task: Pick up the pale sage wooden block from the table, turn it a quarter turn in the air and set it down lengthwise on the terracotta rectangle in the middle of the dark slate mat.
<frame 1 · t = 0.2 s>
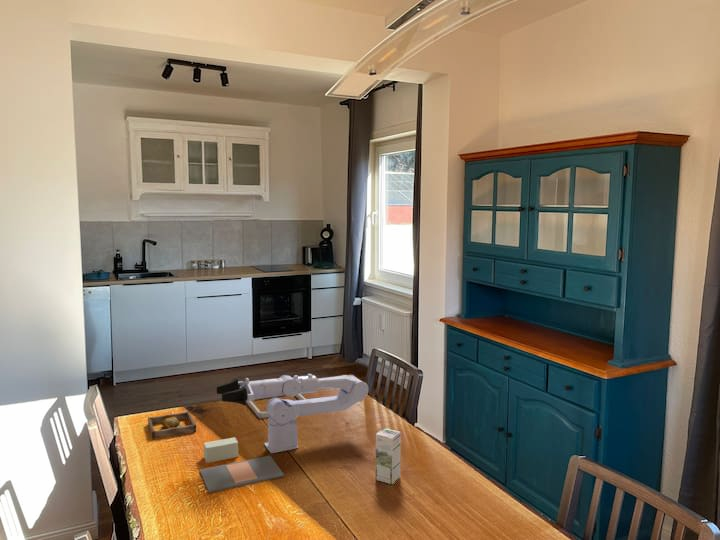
hand: (219, 393, 171), 21 cm above the table, tool horizontal, fingers open, 7 cm apart
fruit: (173, 429, 197), on the table
mat: (241, 473, 164), on the table
block: (221, 457, 175), on the table
box rim: (278, 405, 221), on the table
syrup box: (387, 480, 161), on the table
fruit rim: (171, 428, 197), on the table
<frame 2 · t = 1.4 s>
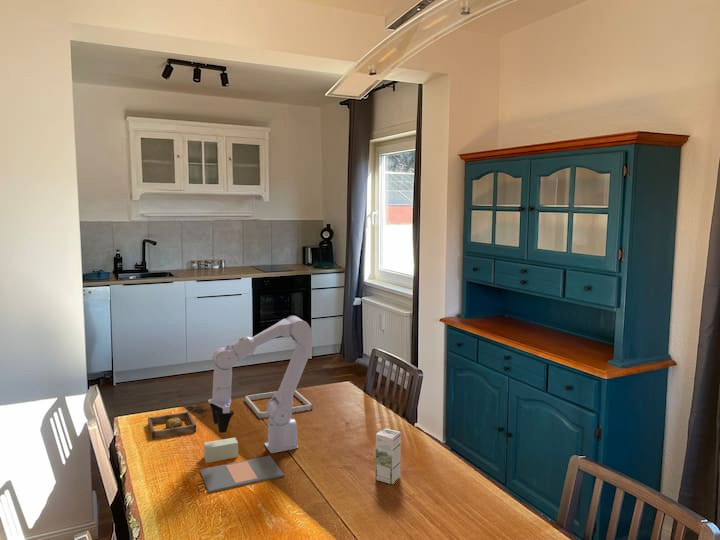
hand: (220, 427, 173), 10 cm above the table, tool pointing down, fingers open, 7 cm apart
fruit: (176, 430, 196), on the table
everything else where it was.
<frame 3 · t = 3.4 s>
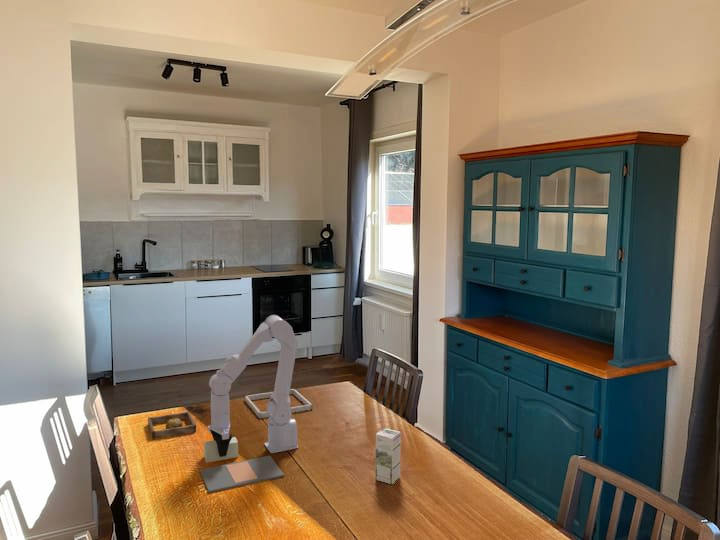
hand: (221, 452, 175), 1 cm above the table, tool pointing down, fingers closed on block, 4 cm apart
block: (221, 457, 175), on the table, touching gripper
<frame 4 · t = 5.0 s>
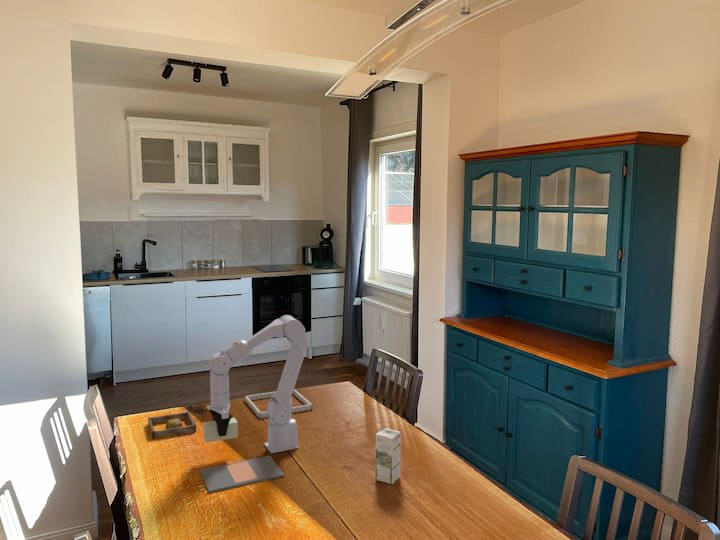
hand: (220, 432, 174), 8 cm above the table, tool pointing down, fingers closed on block, 4 cm apart
block: (220, 437, 174), point 7 cm above the table, touching gripper
everything else where it was.
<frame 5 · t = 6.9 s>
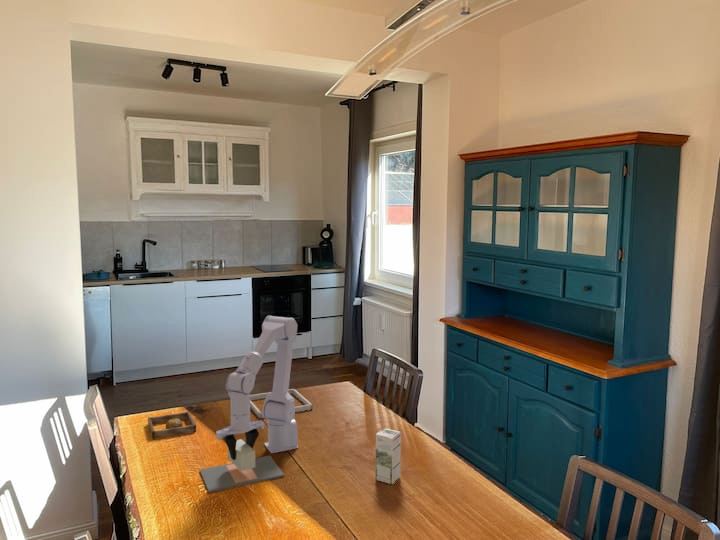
hand: (241, 456, 163), 6 cm above the table, tool pointing down, fingers closed on block, 4 cm apart
block: (241, 462, 163), point 4 cm above the table, touching gripper
everything else where it was.
when the fingers open (4 cm above the table, at t = 8.1 s): block stays where it is, resting on mat.
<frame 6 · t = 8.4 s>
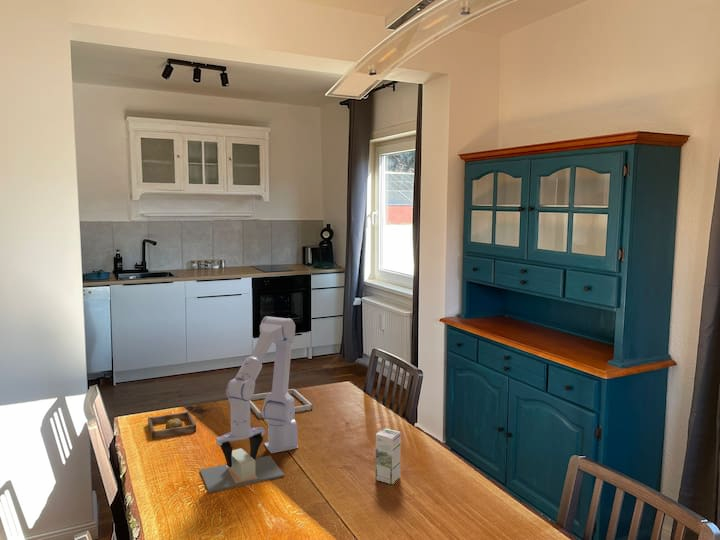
hand: (241, 462, 163), 4 cm above the table, tool pointing down, fingers open, 7 cm apart
block: (241, 471, 163), point 1 cm above the table, touching mat
everything else where it was.
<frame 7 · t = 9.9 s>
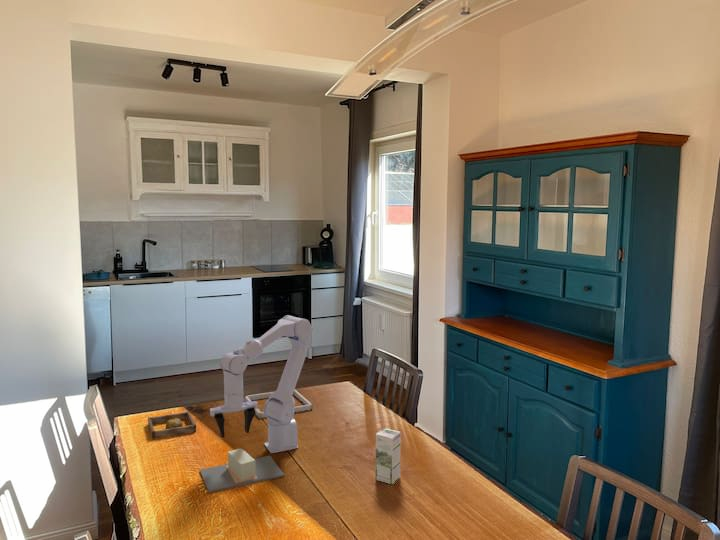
hand: (234, 434, 170), 9 cm above the table, tool pointing down, fingers open, 7 cm apart
nothing on the table moved.
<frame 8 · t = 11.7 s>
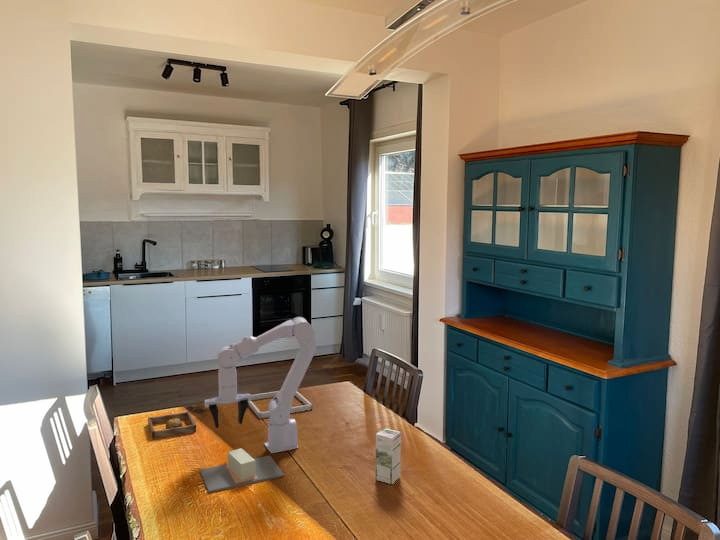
hand: (228, 424, 177), 9 cm above the table, tool pointing down, fingers open, 7 cm apart
nothing on the table moved.
at the end: block 0.1 cm off-centre on the mat, point 0.7 cm above the mat's base; block tilted 0°; the gripper is holding nothing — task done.
